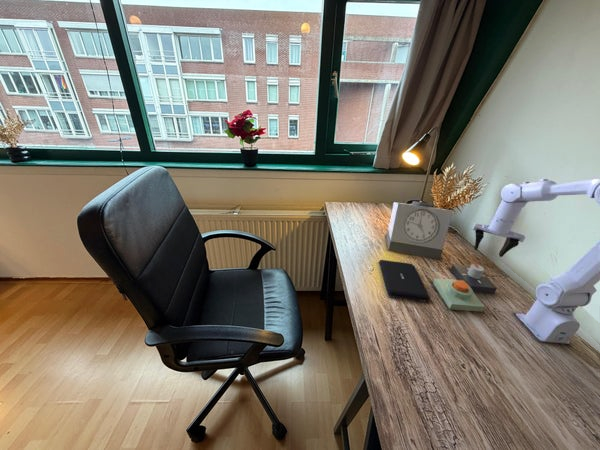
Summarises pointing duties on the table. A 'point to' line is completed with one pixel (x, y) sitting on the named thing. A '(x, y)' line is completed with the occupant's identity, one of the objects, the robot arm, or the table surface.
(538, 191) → the robot arm
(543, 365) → the table surface
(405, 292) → the laptop
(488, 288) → the dial panel
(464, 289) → the button
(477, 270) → the temp dial
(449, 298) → the green button box
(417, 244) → the alarm clock
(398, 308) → the table surface
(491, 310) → the table surface
